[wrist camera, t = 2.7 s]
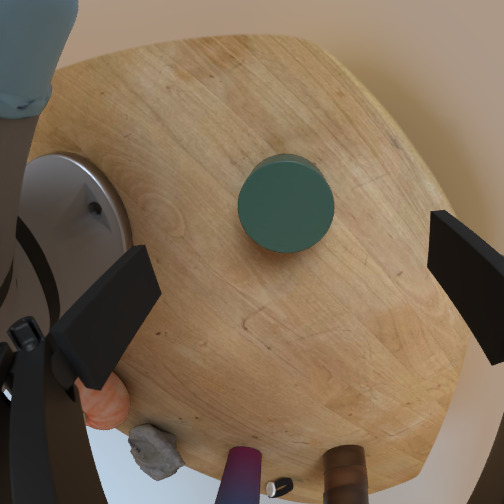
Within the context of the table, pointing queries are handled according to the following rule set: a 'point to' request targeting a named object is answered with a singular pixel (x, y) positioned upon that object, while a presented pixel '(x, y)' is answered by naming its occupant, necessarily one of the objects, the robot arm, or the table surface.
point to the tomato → (104, 404)
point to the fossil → (155, 451)
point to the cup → (241, 477)
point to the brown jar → (345, 476)
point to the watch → (274, 485)
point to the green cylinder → (286, 204)
